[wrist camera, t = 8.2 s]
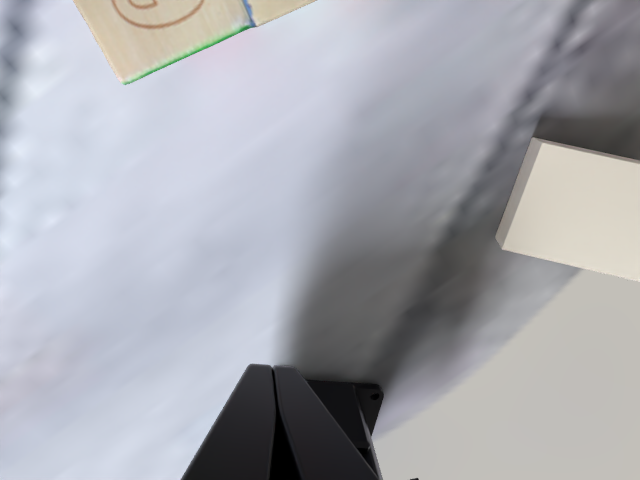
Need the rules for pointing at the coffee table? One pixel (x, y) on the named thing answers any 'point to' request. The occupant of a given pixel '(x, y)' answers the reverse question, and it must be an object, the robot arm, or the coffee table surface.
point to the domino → (575, 209)
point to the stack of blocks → (170, 28)
